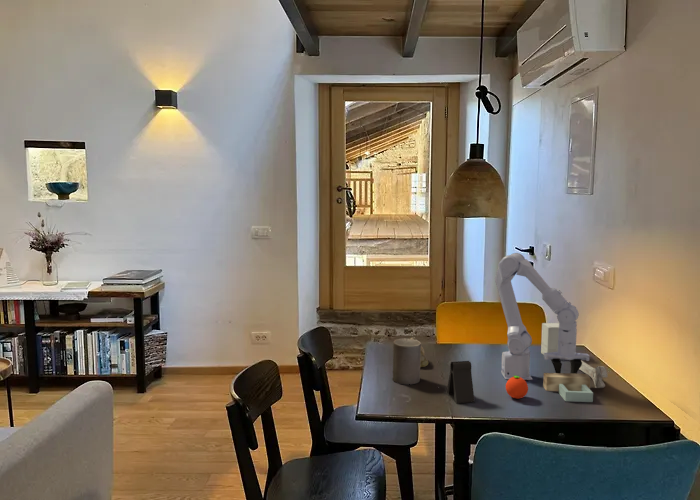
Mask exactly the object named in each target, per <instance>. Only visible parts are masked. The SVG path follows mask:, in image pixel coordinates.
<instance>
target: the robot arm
mask: <svg viewBox="0 0 700 500" xmlns="http://www.w3.org/2000/svg"><path fill="white" fill-rule="evenodd" d="M497 267H498V268H497V271H496V274H495V278H494V279H495V285H496V288H497V292H498V296H499V299H500V303H501V307H502V310H503V314H504V317H505V321H506V324H507V334H506V335H507V343H506V346H507V348H508V351H502V353H501V354H502V355H501V371H500V372H501V375H502V376H503V378H504V379H505V380H509V379H510V378H512V377H513V376H519V377H521V378H523V379H524V380H525V381H533V378H532V376H531V374H530V361H531V359H530V357H531V351H530V348H529V347H530V346H531V345H532V342H533V339H532V336H531V335H530V333H529V332H528V330H527V327H526V325H524V323H523V321H522V316H521V313H520V309H519V305H518V302H517V299H516V294H515V291H514V287H513V283H512V280H513V279H514V277H515V276H519V277H524V278H526V279H528V281H529V282H530V283H531V284H532V285H533V286H534V287H535V288H536V289H537V290H538V291H539V292H540V293H541V295H542V297H541V298H542V301H544V303H545V304H546V305H547V306H548V307H549V308H550V310H551V311H552V312H553V313H554V314H555V315H556V319H557V321H558V323H559V330H558V352H550V353H544V355H543V359H544V360H545V361H548V360H550V361H551V363H552V366H553V368H554V371H555V372H554V373H562V365H563V363H562V362H561V360H562V361H563V360H564V361H566V360H567V361H569V362H570V373H575V374H578V372H579V370H580V369H579V368H580V367H581V366H582V362H581V360H582V361H586V362H589V361H590V354H588V353H582V352H576V351H577V333H578V330H577V325H578V324H577V323H578V321H577V320H578V318H579V311H578V308H577V307H576V306H575V305H572V303H571V302H570V301H569V302H568V300H567V299H566V298H565V297H564V296H563V295H562V294H563V292H562V291H561V290H558V289H557V288H554V287H550V285H549V284H548V283H547V282H546V281H545V279H544V278H543V277H542V276H541V275H540V273H539V272H538V271H537V270H536V269H535V267H534V266H533V265H532V264H531V262H530V261H529V260H528V259H526V258H525V256H524V255H523V254H522V253H520V252H514V253H511V254H508V255H504V257H502V258H501V260H500V261H499V262H498V264H497Z"/></svg>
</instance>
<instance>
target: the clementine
mask: <svg viewBox="0 0 700 500" xmlns="http://www.w3.org/2000/svg"><path fill="white" fill-rule="evenodd" d="M505 391H506V393H507V394H508V395H509V397H511V398H513V399H515V400H516V399H517V400H518V399H522V398H524V397H525V396H527V394H528V391H529V385H528V382H527V380H524V379H523V378H521V377H519V376H513V377H512V378H510V379H507V382H506V383H505Z"/></svg>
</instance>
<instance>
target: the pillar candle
mask: <svg viewBox="0 0 700 500" xmlns="http://www.w3.org/2000/svg"><path fill="white" fill-rule="evenodd" d="M392 345H393V346H392V347H393V349H392V350H393V351H392V381H393V382H395V383H396V384H400V385H406V386H407V385H409V384H410V385H416V384H418V383H420V382H421V367H420V351H421V346H422V343H421V341H419V340H418V339H415V340H414V339H411V338H405V337H404V338H397V339H395V340H393V344H392Z"/></svg>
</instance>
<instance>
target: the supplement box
mask: <svg viewBox="0 0 700 500" xmlns="http://www.w3.org/2000/svg"><path fill="white" fill-rule="evenodd" d="M558 330H559V322H542V323H541V342H540V344H541V346H540V347H541V348H540V353H541V354H542V355H543V356H544V353H550V352H558Z"/></svg>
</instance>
